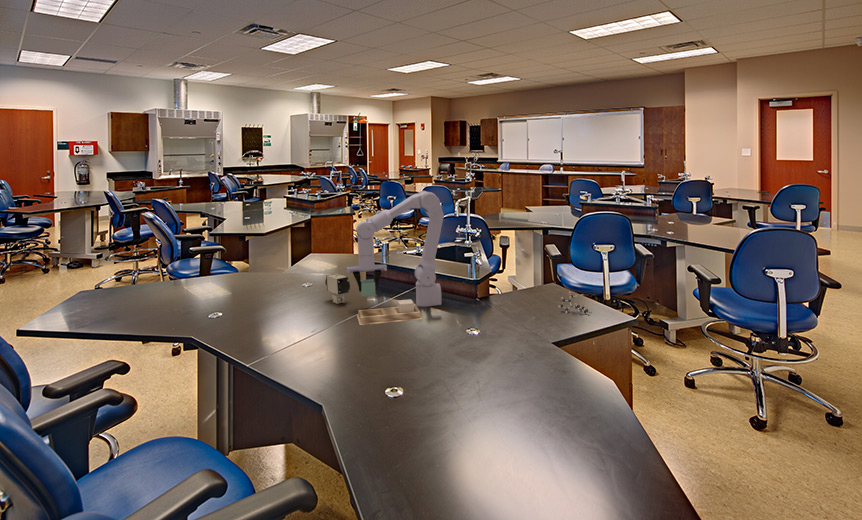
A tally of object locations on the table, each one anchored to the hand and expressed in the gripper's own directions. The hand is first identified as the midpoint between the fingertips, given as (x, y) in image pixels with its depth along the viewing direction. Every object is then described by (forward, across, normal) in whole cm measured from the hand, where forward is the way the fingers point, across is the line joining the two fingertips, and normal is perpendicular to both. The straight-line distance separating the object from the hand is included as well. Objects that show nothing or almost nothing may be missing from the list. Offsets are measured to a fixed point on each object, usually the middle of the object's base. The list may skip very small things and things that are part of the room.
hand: (367, 290), depth 186 cm
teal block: (+2, 0, 0) cm, 2 cm away
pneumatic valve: (+9, +10, -16) cm, 21 cm away
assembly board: (+8, -6, +11) cm, 15 cm away
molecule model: (+9, -72, +22) cm, 76 cm away
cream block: (+7, -12, +11) cm, 18 cm away
